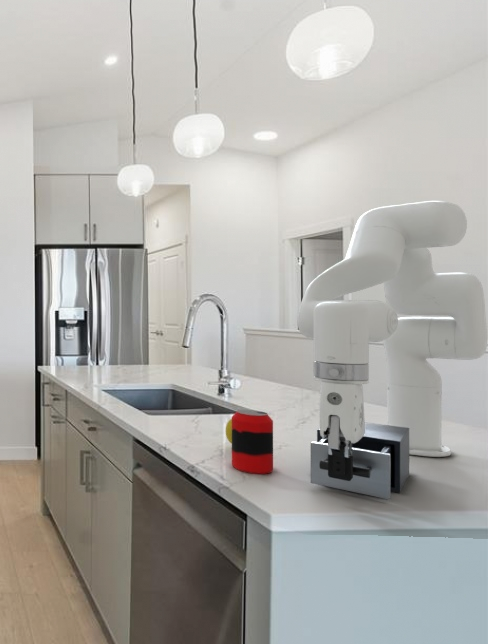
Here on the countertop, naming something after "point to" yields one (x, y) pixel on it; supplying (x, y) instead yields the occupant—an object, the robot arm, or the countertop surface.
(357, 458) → the drawer
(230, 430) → the lemon
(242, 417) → the soda can
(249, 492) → the countertop surface
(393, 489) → the cabinet
